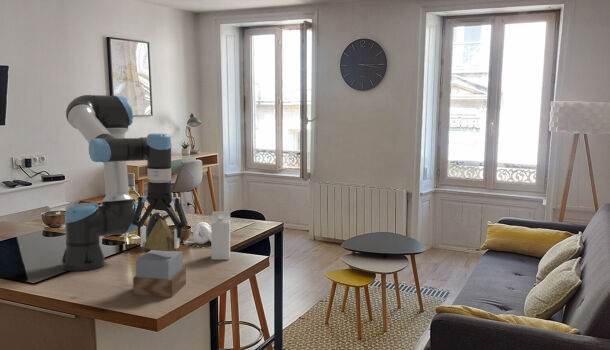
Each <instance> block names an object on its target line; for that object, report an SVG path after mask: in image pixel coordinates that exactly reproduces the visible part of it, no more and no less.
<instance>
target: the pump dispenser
mask: <svg viewBox="0 0 610 350" xmlns="http://www.w3.org/2000/svg"><path fill="white" fill-rule="evenodd" d="M167 218H170V216H169V215H168V214H166V215H164V214H162V213H161V212H154V213H151V214H150V217H149V220H148V221H147V224H146V240H147V238H148V236H149V235H150V233H151V230H152V229H153V227H154V225H155V223H156V222H157V221H158V219H162V220H164V221H165V222H166V223H167V220H166V219H167ZM167 224H168V223H167Z"/></svg>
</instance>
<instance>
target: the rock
mask: <svg viewBox="0 0 610 350" xmlns="http://www.w3.org/2000/svg"><path fill="white" fill-rule="evenodd" d="M166 222H167V221H166ZM166 222H165V221H164V220H162V219H158V221H157V222H156V223H155V225H154V227H153V229H152V230H151V233H150V235H149V236H148V238H147V240H146V243H145V246H143V249H147V250H149V251H151V250H157V251H177V250H176V249H174V233H173V232H172V230H171V228H170V227H169V225H168V223H166Z"/></svg>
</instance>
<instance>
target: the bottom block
mask: <svg viewBox="0 0 610 350" xmlns="http://www.w3.org/2000/svg"><path fill="white" fill-rule="evenodd" d="M132 281H133V285H132V287H133V295H136V296H137V295H138V296H151V297H153V296H154V297H163V298H164V297H166V298H173V297H174V296H175V295H176V294H177V293H179V292H180V291H181V290H182V288H184V286H186V285H187V267H183V269H182V270H180V271H179V272H178V273H176V274H175V275H174V276H173V277H171V278H170V279H169V280H166V279H153V278H139V277H136V275H135V276H134V277H133V278H132Z"/></svg>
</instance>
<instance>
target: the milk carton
mask: <svg viewBox="0 0 610 350" xmlns="http://www.w3.org/2000/svg"><path fill="white" fill-rule="evenodd" d="M210 222H211V224H210V225H211V242H210V244H211V246H210V247H211V250H210V251H211V253H210V254H211V256H210V259H211V260H212V261H213V260H216V261H217V260H220V261H221V260H226V261H228V260H230V256H231V211H211V221H210Z"/></svg>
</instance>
